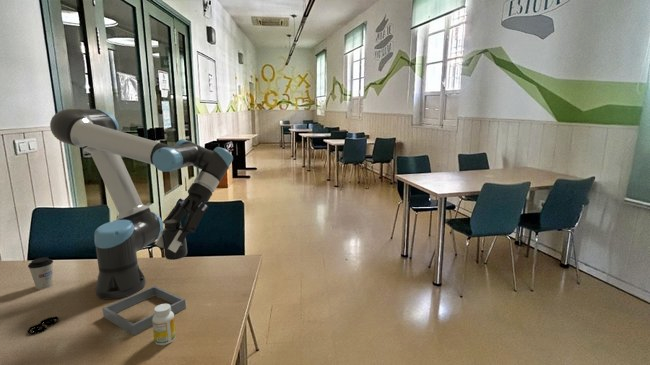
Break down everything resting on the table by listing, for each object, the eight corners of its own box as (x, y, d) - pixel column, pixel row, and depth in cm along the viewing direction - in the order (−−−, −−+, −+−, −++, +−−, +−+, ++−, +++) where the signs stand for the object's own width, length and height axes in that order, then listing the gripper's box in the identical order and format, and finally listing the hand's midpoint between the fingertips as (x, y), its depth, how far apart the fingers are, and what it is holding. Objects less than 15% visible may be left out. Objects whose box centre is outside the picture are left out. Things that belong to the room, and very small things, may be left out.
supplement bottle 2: (160, 348, 91) (156, 315, 89) (150, 340, 94) (147, 308, 92) (179, 338, 95) (176, 306, 93) (170, 331, 98) (167, 300, 97)
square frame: (103, 317, 105) (102, 308, 105) (155, 293, 119) (154, 285, 118) (133, 335, 96) (132, 325, 96) (185, 308, 110) (185, 299, 109)
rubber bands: (63, 320, 104) (63, 317, 104) (37, 337, 96) (36, 333, 96) (50, 318, 105) (49, 315, 105) (22, 334, 97) (22, 331, 97)
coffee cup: (27, 288, 122) (22, 262, 121) (49, 280, 129) (44, 254, 127) (39, 292, 120) (34, 265, 118) (61, 283, 126) (57, 257, 124)
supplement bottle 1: (179, 261, 110) (174, 225, 107) (160, 259, 111) (155, 224, 109) (192, 252, 116) (187, 218, 114) (174, 251, 118) (169, 217, 115)
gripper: (229, 196, 117) (192, 259, 107) (193, 190, 128) (156, 247, 118) (214, 184, 111) (174, 249, 102) (178, 179, 122) (139, 237, 113)
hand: (165, 248), depth 110 cm, fingers closed on supplement bottle 1, 7 cm apart
